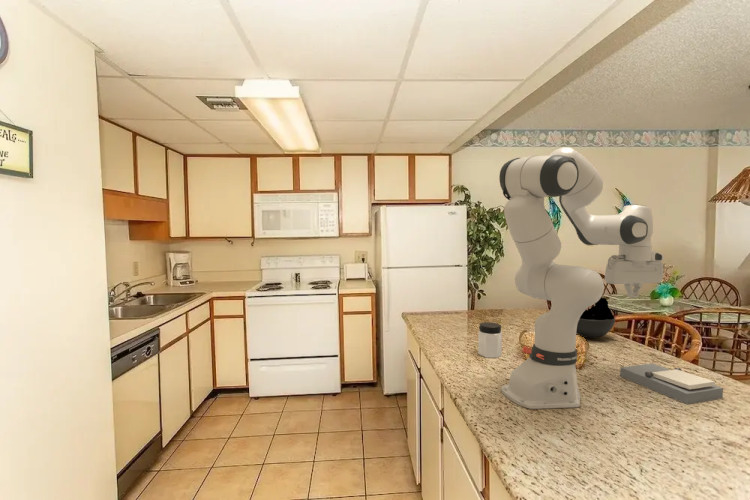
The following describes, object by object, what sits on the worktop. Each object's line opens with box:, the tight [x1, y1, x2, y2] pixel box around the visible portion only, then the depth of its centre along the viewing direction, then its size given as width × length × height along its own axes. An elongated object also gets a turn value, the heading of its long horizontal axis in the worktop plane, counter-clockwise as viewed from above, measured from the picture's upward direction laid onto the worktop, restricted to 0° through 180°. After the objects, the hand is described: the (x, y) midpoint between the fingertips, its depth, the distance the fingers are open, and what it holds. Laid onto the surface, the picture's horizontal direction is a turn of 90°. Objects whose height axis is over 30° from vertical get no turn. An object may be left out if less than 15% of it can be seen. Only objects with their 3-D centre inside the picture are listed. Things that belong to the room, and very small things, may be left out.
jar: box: [477, 321, 503, 359], centre depth 147 cm, size 9×8×12 cm
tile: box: [652, 368, 716, 390], centre depth 113 cm, size 10×11×1 cm
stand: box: [619, 363, 724, 405], centre depth 117 cm, size 14×21×5 cm, turn 15°
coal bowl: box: [576, 297, 616, 339], centre depth 171 cm, size 20×20×19 cm
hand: (632, 297), depth 122 cm, fingers closed
